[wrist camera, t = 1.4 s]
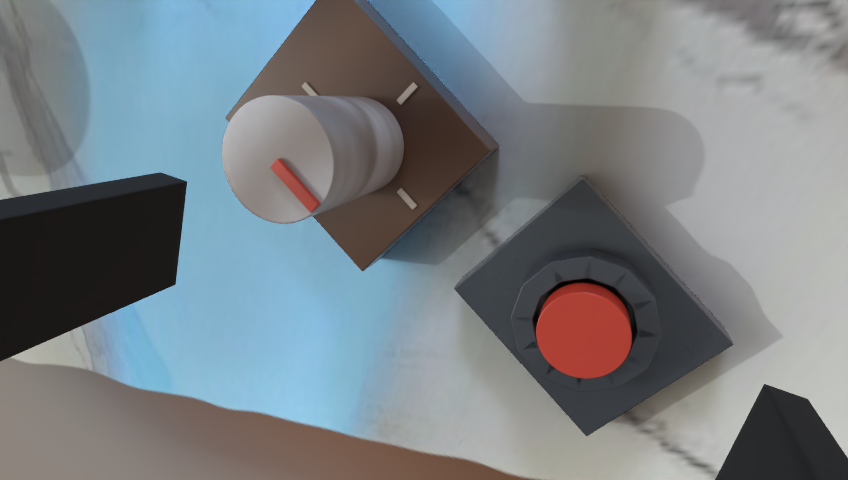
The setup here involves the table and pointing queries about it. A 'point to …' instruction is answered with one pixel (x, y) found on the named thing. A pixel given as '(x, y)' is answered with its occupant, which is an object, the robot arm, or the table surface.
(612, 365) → the button
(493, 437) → the table surface
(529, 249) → the button box
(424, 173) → the control panel
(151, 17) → the table surface
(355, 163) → the knob
